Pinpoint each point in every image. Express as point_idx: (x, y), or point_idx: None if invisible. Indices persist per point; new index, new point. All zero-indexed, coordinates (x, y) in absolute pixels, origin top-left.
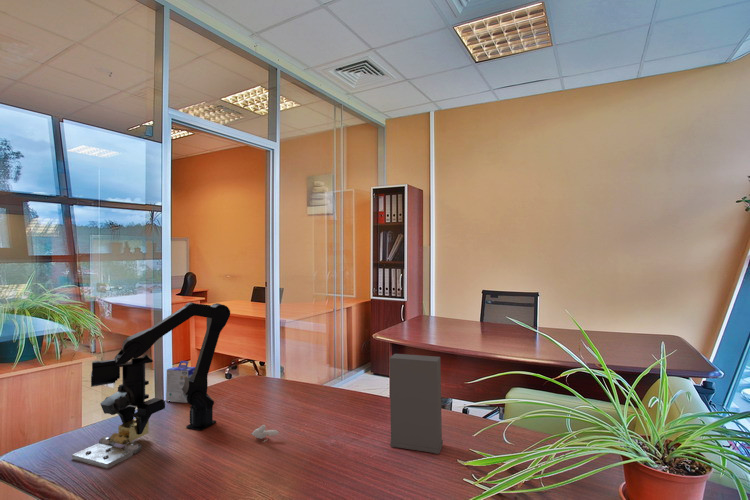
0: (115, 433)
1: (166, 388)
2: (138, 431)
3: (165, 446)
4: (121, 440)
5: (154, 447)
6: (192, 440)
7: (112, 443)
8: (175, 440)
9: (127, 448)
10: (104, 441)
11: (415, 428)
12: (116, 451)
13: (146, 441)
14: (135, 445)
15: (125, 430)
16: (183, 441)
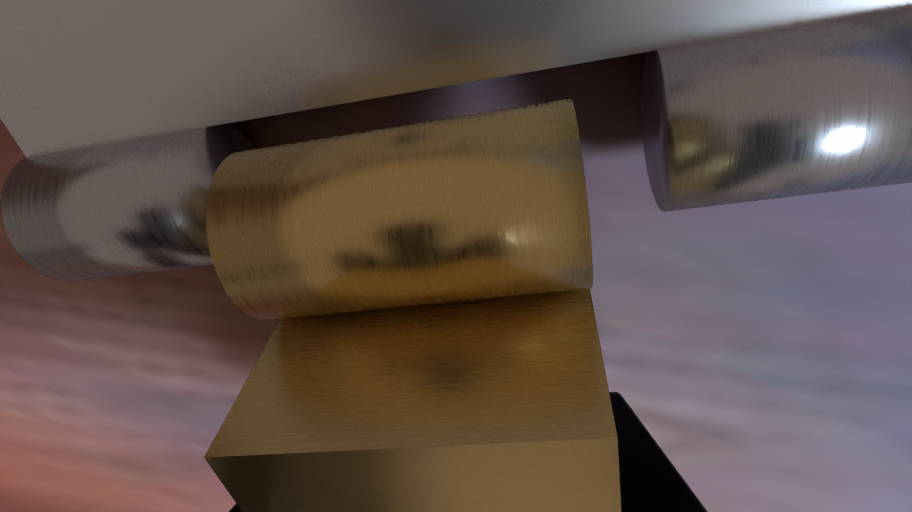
0: (553, 254)
1: None
2: None
3: (92, 388)
4: (220, 179)
5: (145, 340)
6: (67, 505)
7: (650, 145)
8: (168, 470)
9: (129, 147)
10: (783, 60)
11: None
12: (191, 5)
13: None
14: (15, 229)
15: (356, 389)
16: (96, 479)
